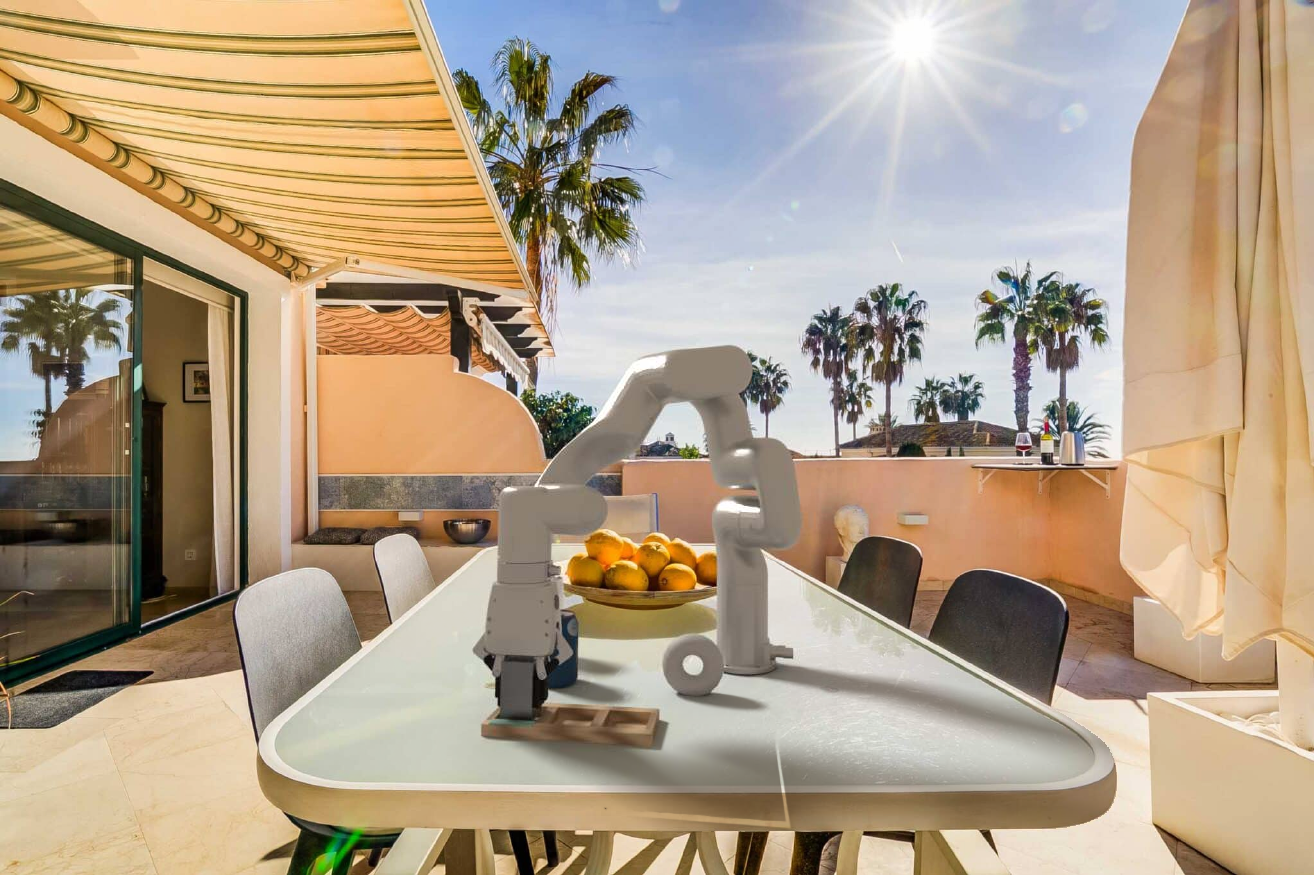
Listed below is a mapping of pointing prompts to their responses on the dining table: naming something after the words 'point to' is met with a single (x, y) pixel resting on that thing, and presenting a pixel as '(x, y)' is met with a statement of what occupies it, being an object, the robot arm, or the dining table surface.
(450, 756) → the dining table surface
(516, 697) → the block
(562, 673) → the soda can
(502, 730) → the tray
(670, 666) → the donut
